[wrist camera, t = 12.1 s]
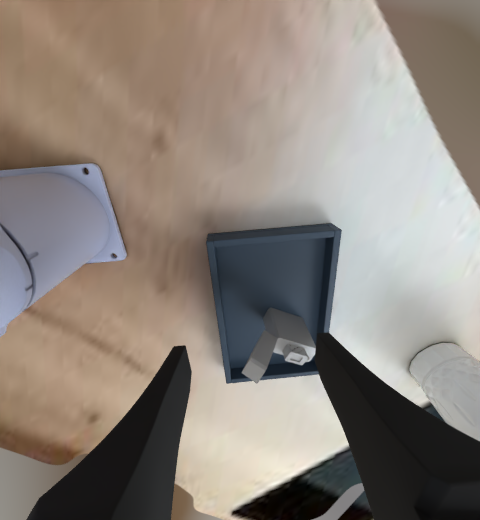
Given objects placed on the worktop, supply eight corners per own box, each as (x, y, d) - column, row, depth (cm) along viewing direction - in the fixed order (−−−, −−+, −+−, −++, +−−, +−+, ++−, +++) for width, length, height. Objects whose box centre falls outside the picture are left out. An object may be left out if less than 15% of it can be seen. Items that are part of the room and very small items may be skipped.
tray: (226, 368, 28) (226, 383, 26) (207, 233, 20) (206, 241, 18) (317, 359, 28) (324, 374, 26) (331, 223, 21) (341, 229, 19)
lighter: (303, 318, 24) (337, 387, 17) (296, 330, 25) (324, 401, 18) (243, 298, 23) (251, 365, 16) (236, 311, 23) (241, 381, 16)
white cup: (396, 357, 28) (476, 451, 19) (460, 327, 27) (579, 416, 18) (412, 390, 31) (488, 485, 22) (471, 365, 30) (578, 457, 21)
